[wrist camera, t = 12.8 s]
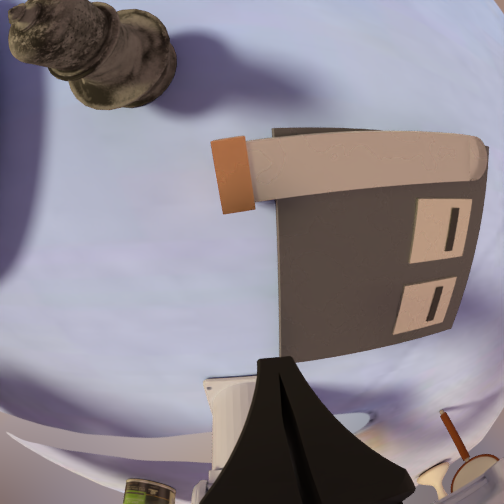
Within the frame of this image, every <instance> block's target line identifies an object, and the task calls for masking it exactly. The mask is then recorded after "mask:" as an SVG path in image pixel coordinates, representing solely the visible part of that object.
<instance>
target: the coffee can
mask: <svg viewBox="0 0 504 504" xmlns="http://www.w3.org/2000/svg"><path fill="white" fill-rule="evenodd" d="M175 494H176V491H175V490H174V489H173V488H171V487H169V486H166V485H164V484H161V483H157V482H153V481H148V480H143V479H128V480H126V488H125V494H124V500H123V504H175Z"/></svg>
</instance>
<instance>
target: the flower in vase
mask: <svg viewBox="0 0 504 504" xmlns="http://www.w3.org/2000/svg"><path fill="white" fill-rule="evenodd" d="M448 467H449V463H448V462H445V463H441V464H439V465H437V466H435V467H433V468H431V469H429V470H428V471H426V472H425V473H423V474H422V475H421V476H420V477H419V478H418V479H417V483H419V484H423V485H432V486H434V487H435V489H436V490H437V493H438V500H440V499H442V498H443V497H445V496H447V495H448V494H447V493H446V492H445V491H444V488H443V486H442V480H443V477H444V475H445V473H446V472H447V469H448Z"/></svg>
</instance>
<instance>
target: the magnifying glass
mask: <svg viewBox="0 0 504 504" xmlns="http://www.w3.org/2000/svg"><path fill="white" fill-rule="evenodd" d="M440 414H441V416H440V417H441V419H442V421H443V423H444V424H445V426H446V428H447V430H448V432H449V434H450V436H451V438H452V439H453V441H454V443H455V445H456V447H457V449H458V451H459V453H460V455H461V457H462V459H463V461H465V463H464V464H463V465H462V466H461V467H460V468H459V470H458V471H457V472H456V474H455V476H454V478H453V480H452V484H451V493H452V492H454V491H456V490H458V489H459V488H461V487H463V486H464V485H466V484H468V483H469V482H471V481H472V480H474V479H475V478H477V477H479V476H480V475H482V474H483V473H484V472H485V471H486V470H487V469H489V468H490V467H491V466H492V465H494V464H495V463H496V462H497V461H499V459H498V458H497V457H496V456H494V455H491V454H482V455H478V456H475V457H473V458H471V459H469V457H470V456H469V454H468V452H467V450H466V448H465V446H464V444H463V442H462V440H461V438H460V436H459V435H458V433H457V431H456V429H455V427H454V425H453V424H452V422H451V420H450V418H449V417H448V415H447V413H446V412H444V411H443V410H440Z"/></svg>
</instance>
